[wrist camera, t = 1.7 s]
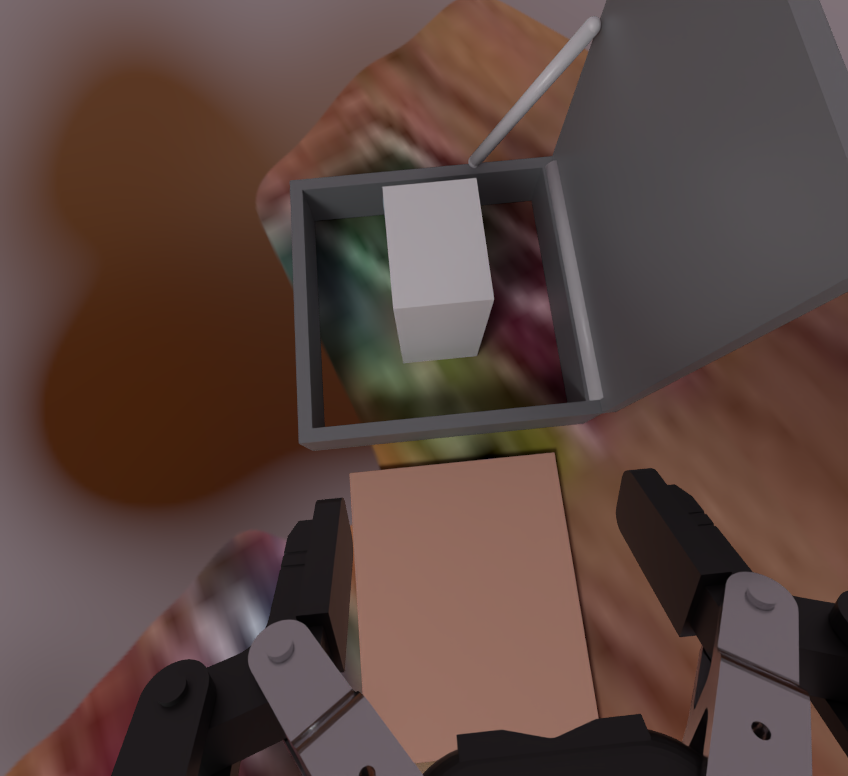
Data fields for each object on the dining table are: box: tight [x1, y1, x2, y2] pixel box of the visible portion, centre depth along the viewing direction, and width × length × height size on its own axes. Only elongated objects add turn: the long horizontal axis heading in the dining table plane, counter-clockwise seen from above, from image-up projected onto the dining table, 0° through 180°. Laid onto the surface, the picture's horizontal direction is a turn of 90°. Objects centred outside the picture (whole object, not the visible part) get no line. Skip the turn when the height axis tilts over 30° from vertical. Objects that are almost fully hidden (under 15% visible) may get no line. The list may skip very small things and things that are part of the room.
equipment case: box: [290, 0, 848, 451], centre depth 23 cm, size 18×18×21 cm
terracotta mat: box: [350, 453, 599, 763], centre depth 28 cm, size 13×16×1 cm
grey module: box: [382, 178, 494, 363], centre depth 29 cm, size 5×7×9 cm
